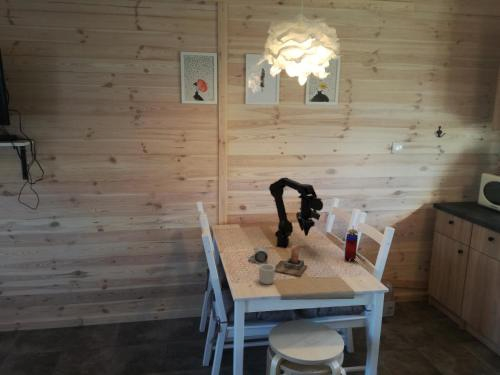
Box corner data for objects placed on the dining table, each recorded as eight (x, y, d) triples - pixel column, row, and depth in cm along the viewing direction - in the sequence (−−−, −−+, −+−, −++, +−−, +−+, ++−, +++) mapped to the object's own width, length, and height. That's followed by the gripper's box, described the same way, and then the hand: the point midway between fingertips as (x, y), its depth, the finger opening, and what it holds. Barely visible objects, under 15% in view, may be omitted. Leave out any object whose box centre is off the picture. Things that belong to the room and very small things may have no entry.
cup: (256, 276, 200) (257, 261, 199) (272, 276, 201) (273, 261, 199) (259, 285, 190) (259, 270, 188) (275, 285, 191) (276, 270, 189)
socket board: (272, 271, 206) (272, 265, 206) (280, 262, 219) (280, 256, 218) (300, 277, 201) (300, 270, 200) (307, 267, 213) (307, 260, 213)
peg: (288, 266, 211) (289, 246, 209) (293, 264, 214) (294, 244, 212) (294, 268, 209) (295, 248, 206) (299, 266, 211) (300, 246, 209)
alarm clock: (355, 264, 219) (358, 229, 214) (339, 262, 221) (342, 228, 217) (356, 255, 233) (359, 222, 228) (341, 253, 235) (344, 220, 231)
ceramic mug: (267, 258, 223) (267, 245, 222) (267, 264, 215) (268, 251, 214) (248, 258, 223) (248, 245, 222) (248, 264, 215) (248, 250, 214)
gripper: (324, 211, 217) (322, 238, 220) (314, 202, 235) (313, 227, 238) (304, 211, 215) (303, 238, 219) (296, 202, 233) (295, 228, 237)
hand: (304, 233), depth 228 cm, fingers open, 9 cm apart
